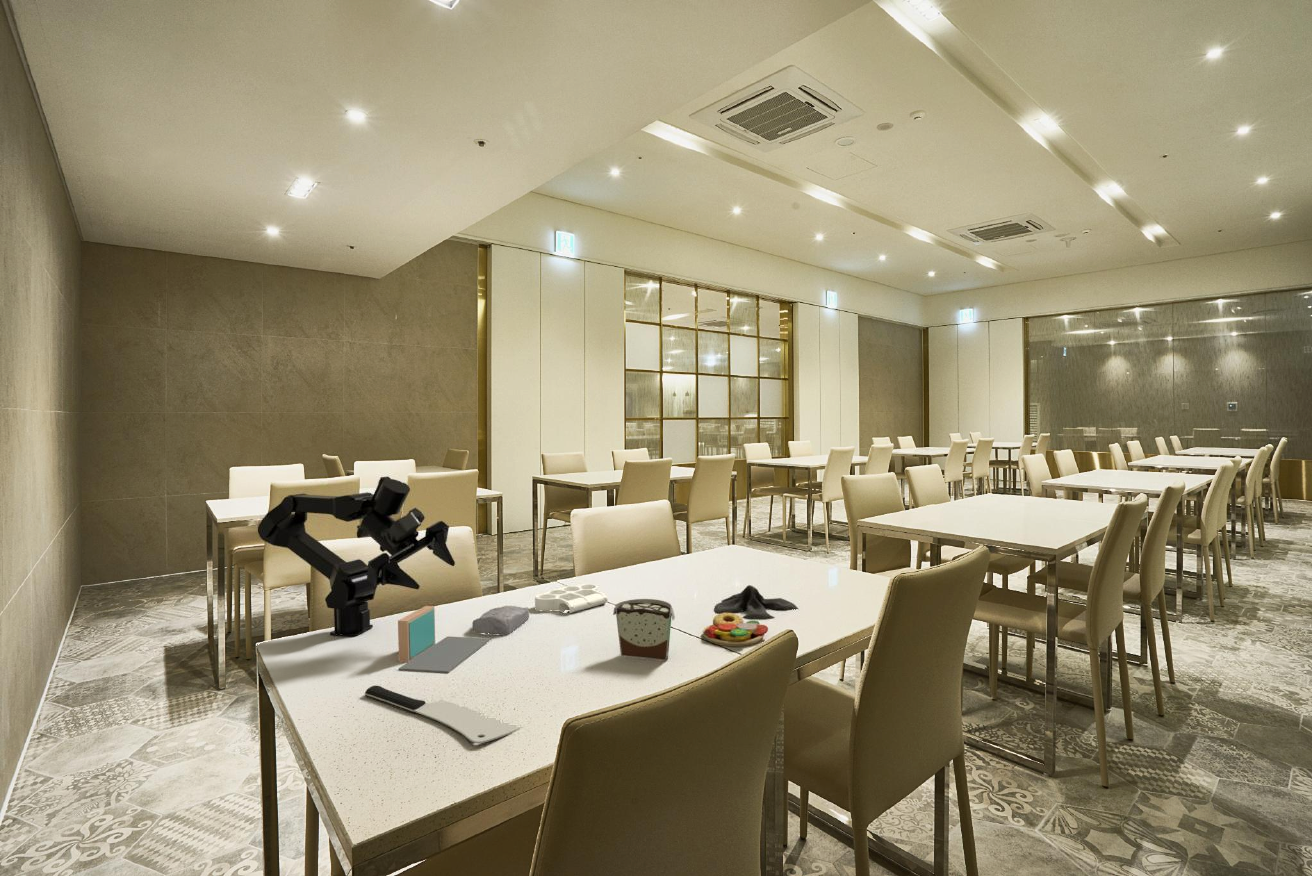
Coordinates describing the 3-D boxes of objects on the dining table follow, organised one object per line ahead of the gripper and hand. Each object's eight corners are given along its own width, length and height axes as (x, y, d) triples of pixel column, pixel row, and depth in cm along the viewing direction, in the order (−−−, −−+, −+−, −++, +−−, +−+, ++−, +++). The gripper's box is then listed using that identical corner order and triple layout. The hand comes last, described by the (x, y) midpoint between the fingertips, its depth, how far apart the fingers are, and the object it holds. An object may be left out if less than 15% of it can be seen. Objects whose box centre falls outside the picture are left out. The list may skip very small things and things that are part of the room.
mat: (398, 670, 119) (398, 668, 119) (447, 637, 137) (447, 636, 137) (448, 672, 118) (448, 671, 118) (491, 639, 135) (491, 638, 135)
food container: (683, 650, 127) (682, 600, 127) (674, 662, 121) (673, 609, 121) (625, 644, 131) (624, 596, 131) (613, 655, 125) (612, 604, 125)
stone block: (469, 642, 140) (511, 636, 138) (465, 621, 140) (507, 613, 138) (494, 627, 151) (533, 621, 149) (490, 607, 151) (529, 600, 150)
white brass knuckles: (559, 620, 150) (524, 607, 160) (617, 603, 162) (581, 593, 173) (558, 605, 150) (524, 594, 160) (617, 590, 162) (581, 581, 173)
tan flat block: (398, 661, 124) (397, 620, 124) (426, 644, 134) (425, 605, 134) (409, 662, 123) (407, 621, 123) (436, 644, 133) (435, 606, 133)
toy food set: (722, 624, 144) (722, 609, 144) (777, 634, 137) (776, 619, 137) (690, 641, 133) (690, 625, 133) (748, 653, 126) (747, 637, 126)
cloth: (806, 606, 158) (806, 581, 158) (775, 627, 142) (775, 599, 142) (725, 594, 170) (725, 571, 170) (689, 612, 155) (689, 586, 155)
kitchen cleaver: (533, 718, 98) (481, 738, 90) (532, 730, 98) (480, 750, 89) (408, 676, 115) (355, 689, 107) (407, 686, 115) (355, 700, 107)
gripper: (348, 526, 126) (402, 574, 121) (425, 487, 140) (476, 528, 136) (347, 563, 132) (397, 610, 128) (421, 522, 147) (469, 562, 142)
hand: (436, 575), depth 133 cm, fingers open, 9 cm apart
